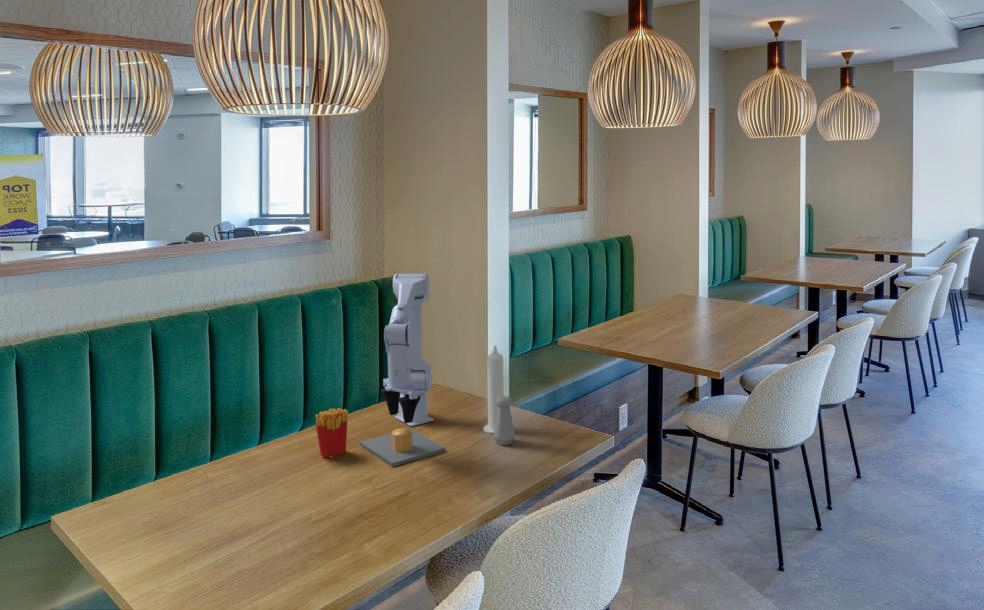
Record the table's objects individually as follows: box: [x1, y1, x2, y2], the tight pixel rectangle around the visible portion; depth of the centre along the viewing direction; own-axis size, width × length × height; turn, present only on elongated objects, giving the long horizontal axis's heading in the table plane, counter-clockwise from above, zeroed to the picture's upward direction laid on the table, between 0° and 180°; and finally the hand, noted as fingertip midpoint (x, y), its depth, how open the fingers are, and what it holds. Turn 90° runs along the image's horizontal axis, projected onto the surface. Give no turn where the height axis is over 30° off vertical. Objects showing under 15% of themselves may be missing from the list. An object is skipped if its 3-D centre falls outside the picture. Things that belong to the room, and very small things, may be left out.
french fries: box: [314, 407, 349, 458], centre depth 195 cm, size 8×4×12 cm, turn 118°
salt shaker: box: [493, 395, 516, 446], centre depth 201 cm, size 6×6×13 cm
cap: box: [391, 427, 413, 452], centre depth 197 cm, size 5×5×4 cm
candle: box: [483, 344, 505, 435], centre depth 210 cm, size 7×7×25 cm
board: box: [358, 428, 446, 468], centre depth 200 cm, size 18×16×1 cm
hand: (401, 418), depth 196 cm, fingers open, 7 cm apart
